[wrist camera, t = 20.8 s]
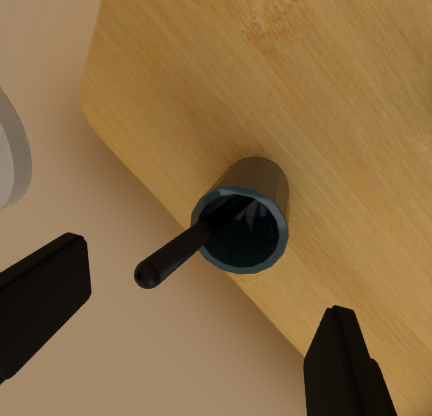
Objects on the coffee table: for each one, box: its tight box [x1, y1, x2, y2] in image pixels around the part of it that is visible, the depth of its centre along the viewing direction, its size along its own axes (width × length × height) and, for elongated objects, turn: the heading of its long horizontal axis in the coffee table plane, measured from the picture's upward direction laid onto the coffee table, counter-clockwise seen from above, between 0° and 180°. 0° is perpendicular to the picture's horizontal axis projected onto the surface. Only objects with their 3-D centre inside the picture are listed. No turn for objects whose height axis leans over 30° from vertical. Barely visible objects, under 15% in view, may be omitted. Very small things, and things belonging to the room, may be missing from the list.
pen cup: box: [190, 157, 289, 274], centre depth 18 cm, size 6×6×8 cm
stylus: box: [134, 194, 256, 289], centre depth 15 cm, size 1×1×13 cm
